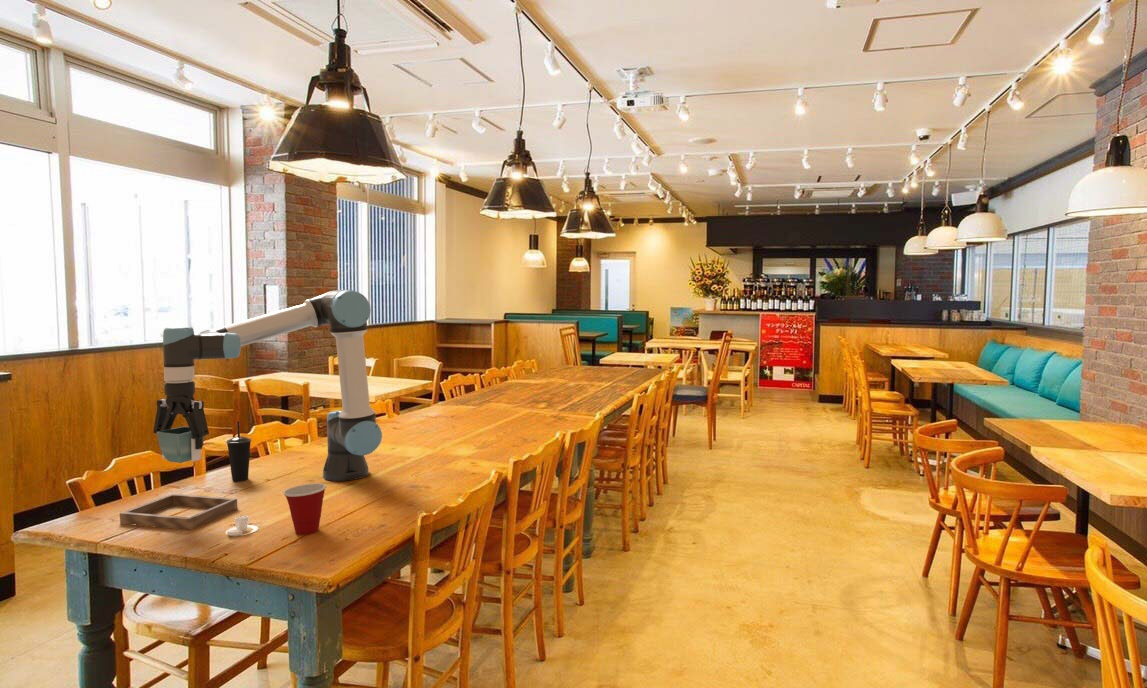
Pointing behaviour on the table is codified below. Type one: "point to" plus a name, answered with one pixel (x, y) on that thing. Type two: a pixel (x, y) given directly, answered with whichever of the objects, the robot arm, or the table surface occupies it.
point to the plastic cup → (306, 506)
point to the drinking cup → (239, 456)
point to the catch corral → (144, 516)
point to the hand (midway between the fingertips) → (181, 459)
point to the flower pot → (176, 444)
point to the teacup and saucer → (241, 526)
